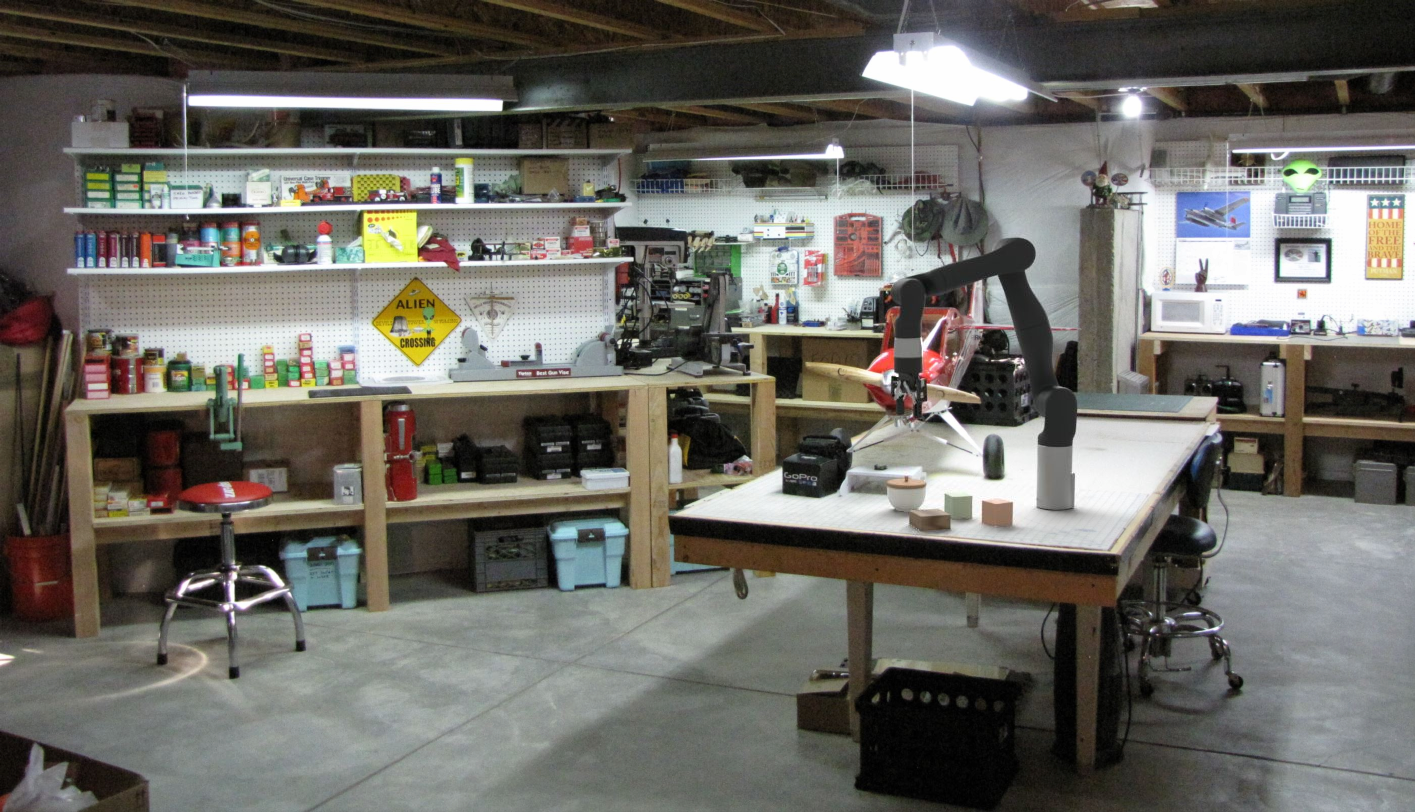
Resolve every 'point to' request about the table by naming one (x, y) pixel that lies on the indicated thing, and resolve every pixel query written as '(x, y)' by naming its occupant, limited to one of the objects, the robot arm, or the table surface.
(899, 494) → the lidded jar
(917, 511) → the walnut base
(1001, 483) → the table surface
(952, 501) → the sage block
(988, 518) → the terracotta block
